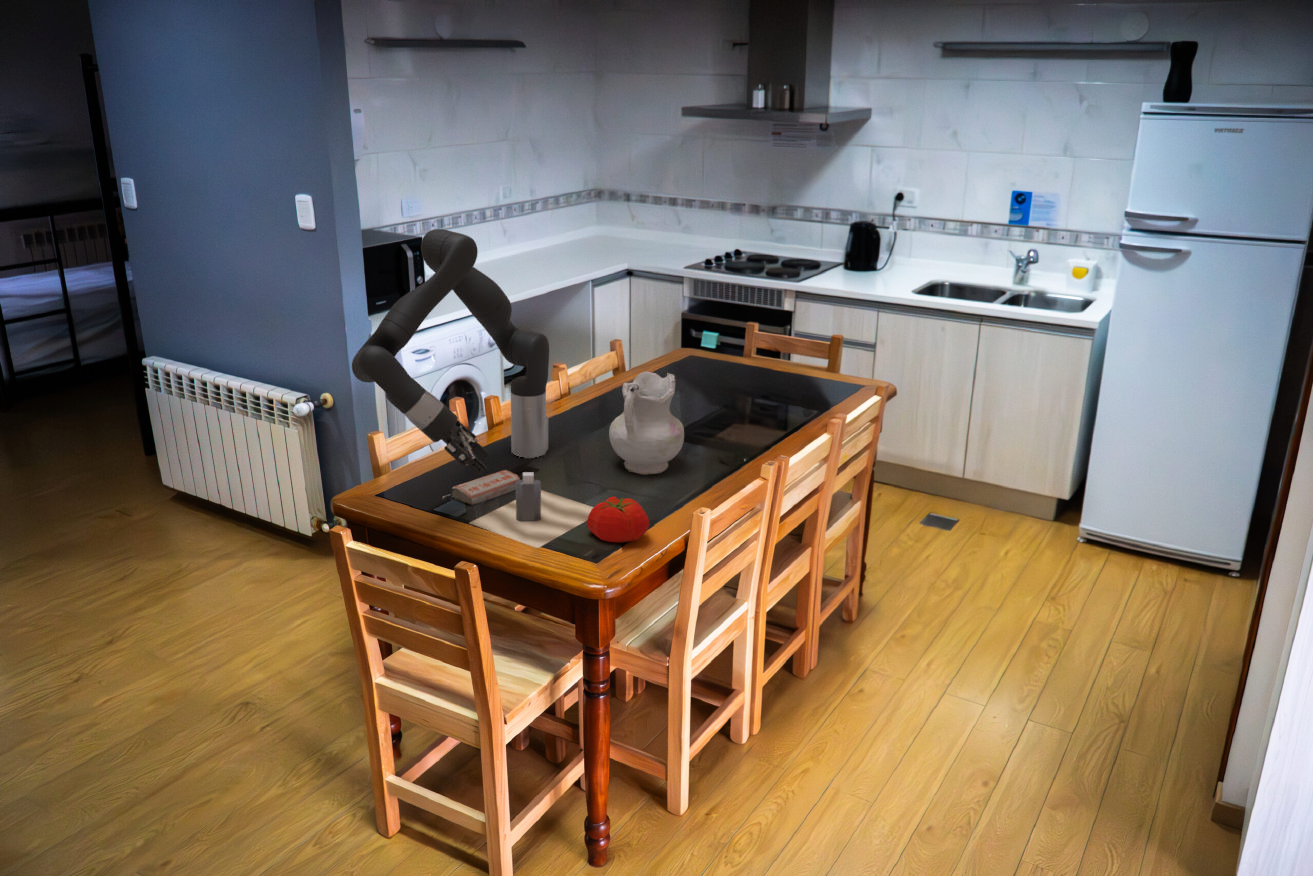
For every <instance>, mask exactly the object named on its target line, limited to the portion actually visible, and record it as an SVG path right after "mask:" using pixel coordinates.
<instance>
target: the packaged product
mask: <svg viewBox="0 0 1313 876" xmlns="http://www.w3.org/2000/svg"><path fill="white" fill-rule="evenodd" d="M518 480H521V479H520V476H519V475H518V474H516V473H513V472H512V471H511V470H510V471H509V470H507V469H503V470H501V471H497V472H494V473H491V474H487V475H485V476H482V477H479V478H476V479H473V480H470V481H467V482H463V483H460V484H457V485H454V486H453V487H452V488H451V493H450V494H447V495H444V496H442V500H444V498H445V497H447V496H451V498H452V499H454V500H456V501H460V502H463V503H466V504H469V505H470V506H474V505H477V504H480V503H483V502H486V501H489V500H492V499H495V498H498V497H500V496H504V495H505V494H508V493H511V492H513V491H516V481H518Z"/></svg>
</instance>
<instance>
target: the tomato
mask: <svg viewBox="0 0 1313 876" xmlns="http://www.w3.org/2000/svg"><path fill="white" fill-rule="evenodd" d="M586 525H587V529H588V530H589V531H590V532H591V533H592V534H593V535H595V536H596V537H597V538H598V539H600V540H601V541H604V542H608V543H617V544H618V543H620V544H623V543H629V542H635V541H636V540H638V539H641V538H642V537H643V536H644V535H645V533H646V532H647V531H648V529H649V527H650V519H649V517H648V515H647V513H646V511H644V508H643V506H642V505H641V504H639V502H638V501H636V500H634V499H633V498H624V497H620V499H619V498H618V497H616V496H611V497H608V498H607V499H605V500H603V501H602V502H599V503H597V504H596V505H595V506H594V508H593V509H592V510H591V512H590V513H589V516H588V520H587V521H586Z"/></svg>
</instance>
